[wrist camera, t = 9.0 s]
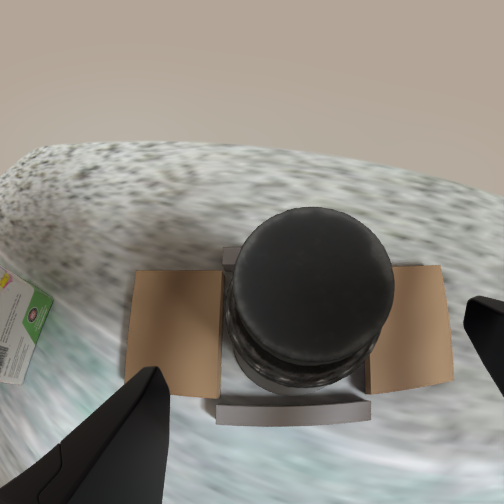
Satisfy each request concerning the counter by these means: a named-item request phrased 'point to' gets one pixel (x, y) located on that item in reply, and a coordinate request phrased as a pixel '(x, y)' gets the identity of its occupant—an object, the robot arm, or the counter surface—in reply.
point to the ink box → (19, 324)
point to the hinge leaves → (209, 375)
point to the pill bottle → (309, 297)
